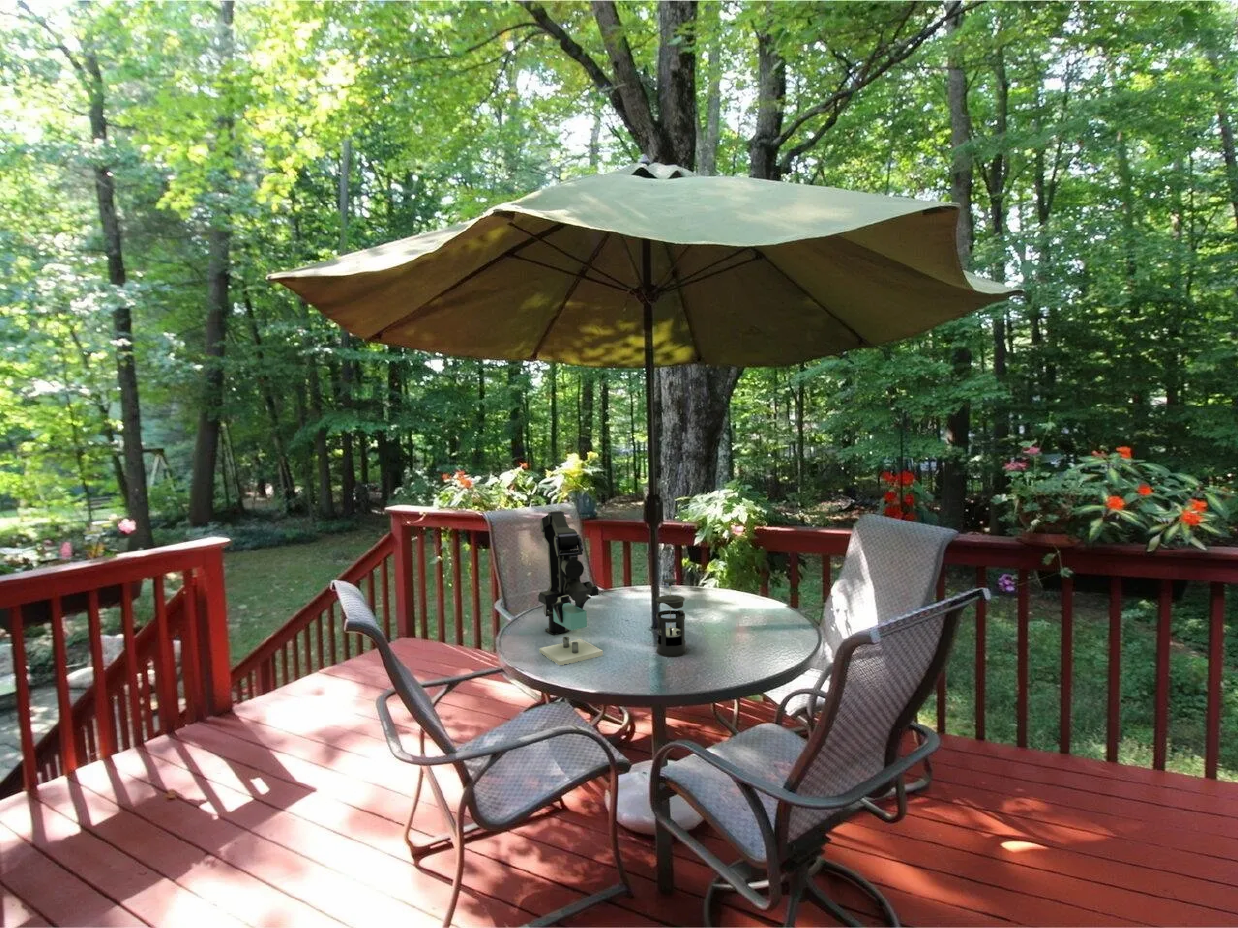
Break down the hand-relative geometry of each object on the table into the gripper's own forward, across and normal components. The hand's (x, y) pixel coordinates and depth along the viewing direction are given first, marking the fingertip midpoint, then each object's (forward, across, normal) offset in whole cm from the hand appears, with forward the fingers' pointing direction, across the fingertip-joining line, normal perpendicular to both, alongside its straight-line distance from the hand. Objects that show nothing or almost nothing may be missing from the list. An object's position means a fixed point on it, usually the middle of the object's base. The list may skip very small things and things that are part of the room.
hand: (569, 620), depth 208 cm
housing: (+1, 0, 0) cm, 1 cm away
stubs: (+9, 0, 0) cm, 9 cm away
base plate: (+11, 0, 0) cm, 11 cm away
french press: (+11, +27, -17) cm, 34 cm away
